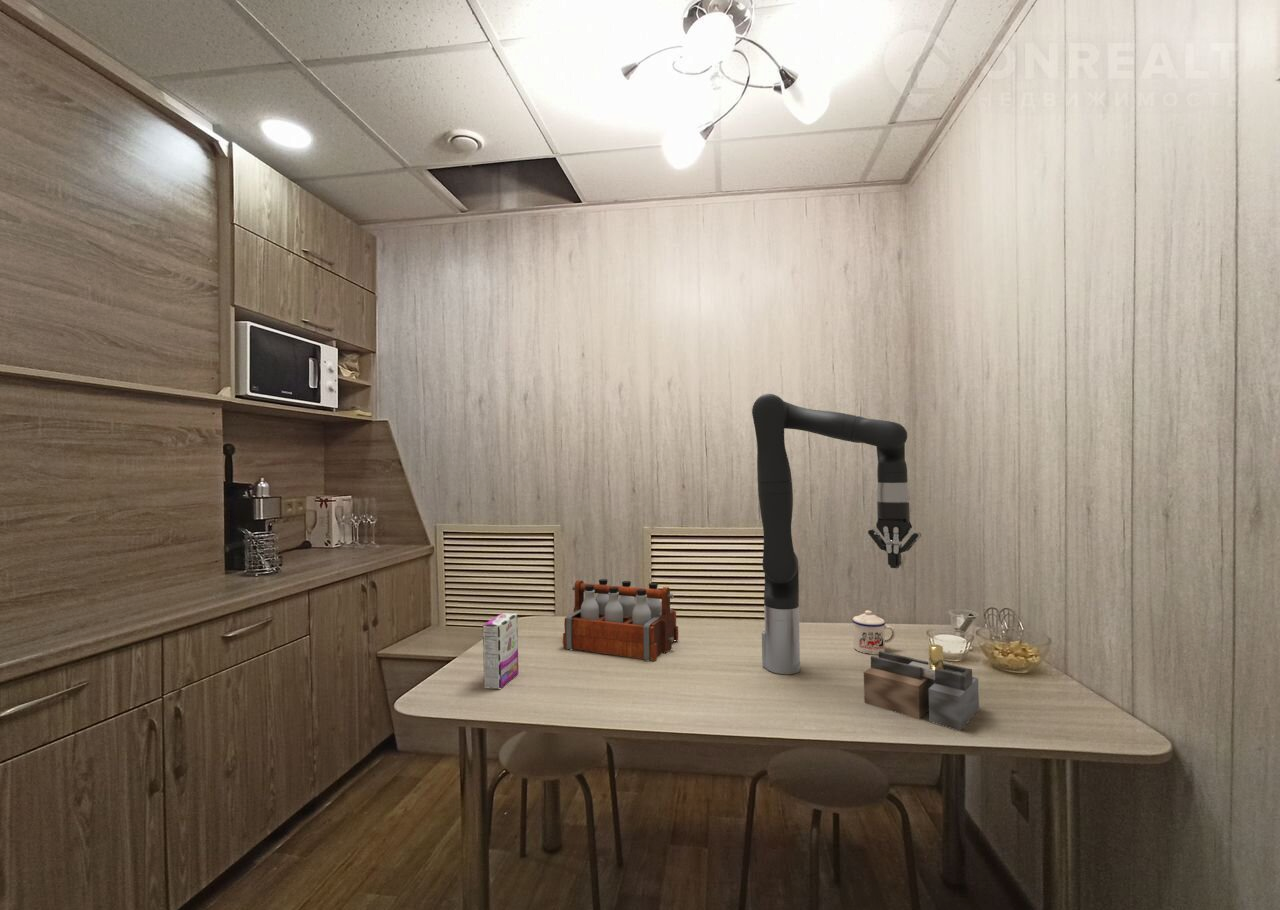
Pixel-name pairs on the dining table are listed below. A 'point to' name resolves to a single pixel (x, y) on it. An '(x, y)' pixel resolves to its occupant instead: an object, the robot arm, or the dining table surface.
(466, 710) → the dining table surface
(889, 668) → the pair of card holders
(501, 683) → the candy bar box
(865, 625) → the teacup with lid
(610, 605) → the milk bottle holder
